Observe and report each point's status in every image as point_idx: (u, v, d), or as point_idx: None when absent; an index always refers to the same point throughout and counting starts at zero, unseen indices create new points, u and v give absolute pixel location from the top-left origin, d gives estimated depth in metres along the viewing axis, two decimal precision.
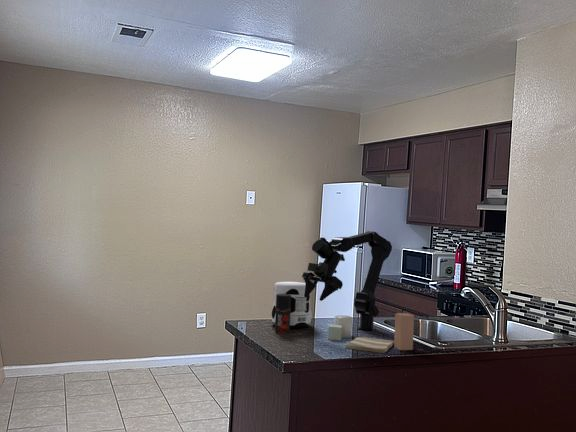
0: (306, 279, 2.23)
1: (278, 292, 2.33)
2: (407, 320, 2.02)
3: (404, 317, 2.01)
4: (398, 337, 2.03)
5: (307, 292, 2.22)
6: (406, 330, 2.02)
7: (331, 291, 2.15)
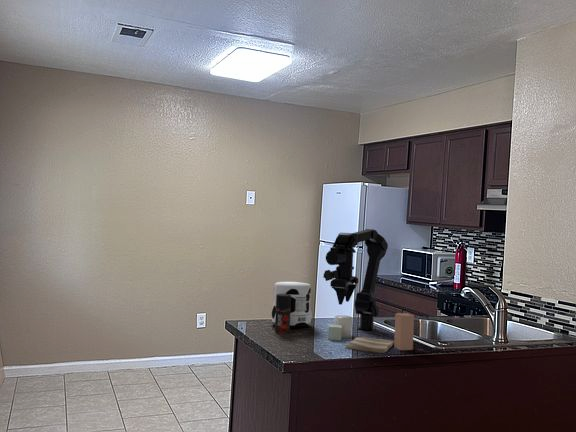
0: None
1: (278, 292, 2.33)
2: (407, 320, 2.02)
3: (404, 317, 2.01)
4: (398, 337, 2.03)
5: (347, 296, 2.26)
6: (406, 330, 2.02)
7: (343, 292, 2.16)
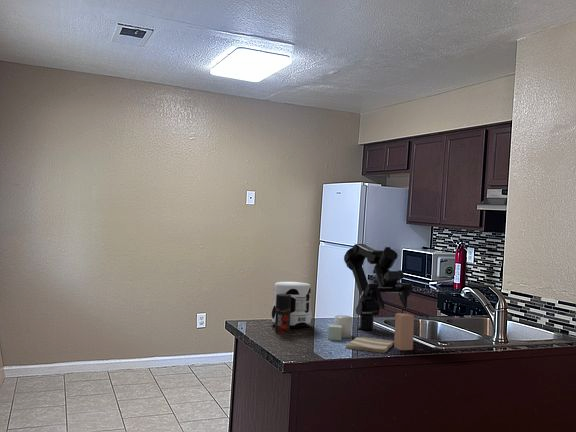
0: (378, 290, 2.13)
1: (278, 292, 2.33)
2: (407, 320, 2.02)
3: (404, 317, 2.01)
4: (398, 337, 2.03)
5: None
6: (406, 330, 2.02)
7: None
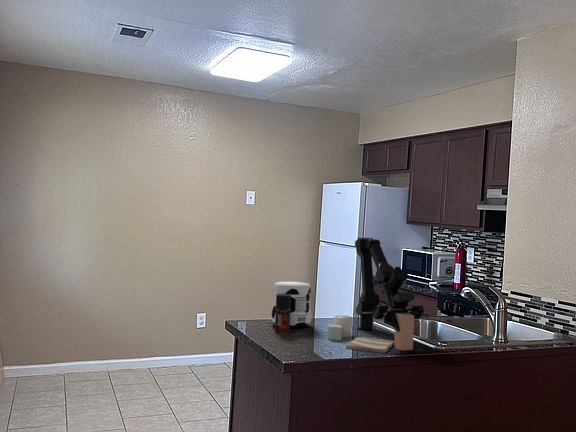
0: (393, 312, 2.04)
1: (278, 292, 2.33)
2: (407, 320, 2.02)
3: (404, 317, 2.01)
4: (398, 337, 2.03)
5: None
6: (406, 330, 2.02)
7: None
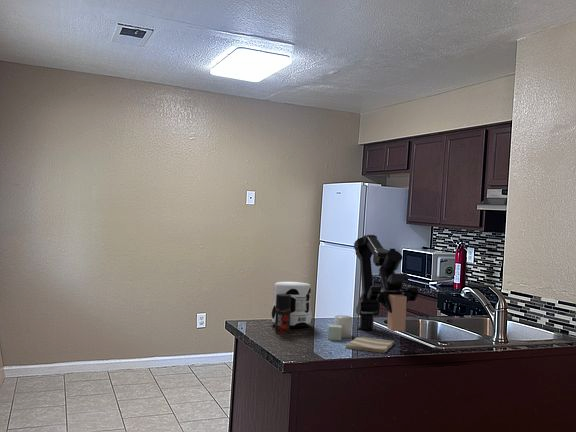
0: (386, 293, 2.04)
1: (278, 292, 2.33)
2: (399, 301, 2.01)
3: (396, 298, 2.01)
4: (390, 318, 2.03)
5: None
6: (398, 311, 2.01)
7: None
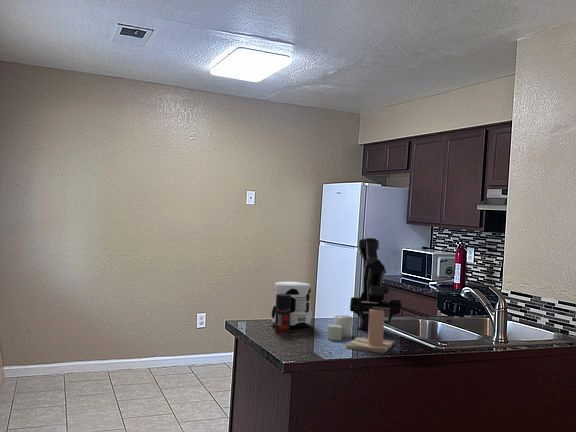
0: (360, 304, 2.05)
1: (278, 292, 2.33)
2: (376, 315, 2.01)
3: (373, 312, 2.01)
4: None
5: (363, 318, 2.04)
6: (375, 326, 2.01)
7: (392, 315, 2.07)
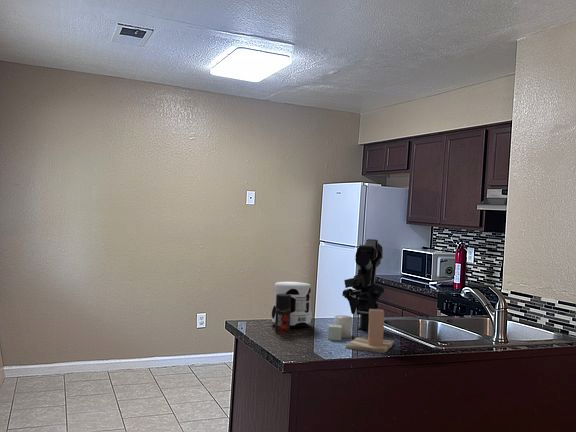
0: (347, 296, 2.22)
1: (278, 292, 2.33)
2: (376, 315, 2.01)
3: (373, 312, 2.01)
4: None
5: (353, 308, 2.21)
6: (375, 326, 2.01)
7: (375, 299, 2.14)
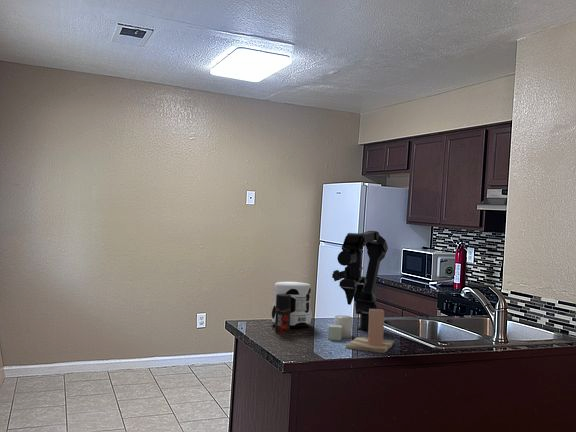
0: None
1: (278, 292, 2.33)
2: (376, 315, 2.01)
3: (373, 312, 2.01)
4: None
5: (355, 296, 2.27)
6: (375, 326, 2.01)
7: (352, 292, 2.16)
